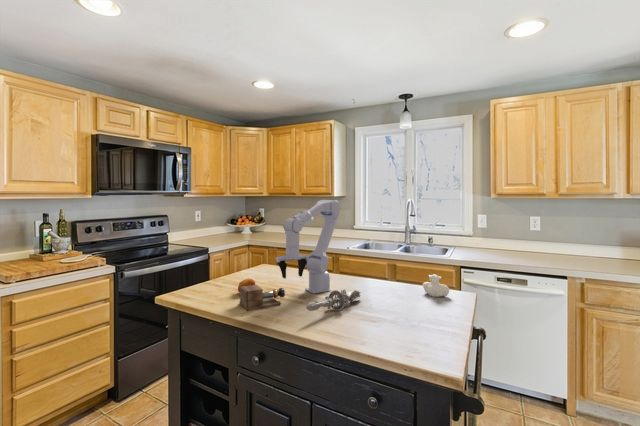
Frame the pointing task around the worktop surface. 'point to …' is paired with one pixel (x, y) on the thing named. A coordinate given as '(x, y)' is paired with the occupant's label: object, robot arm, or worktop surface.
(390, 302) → the worktop surface
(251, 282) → the fruit
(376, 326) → the worktop surface
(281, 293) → the shaft
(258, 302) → the bearing housing
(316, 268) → the robot arm
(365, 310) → the worktop surface
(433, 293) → the white rounded figure
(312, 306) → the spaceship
